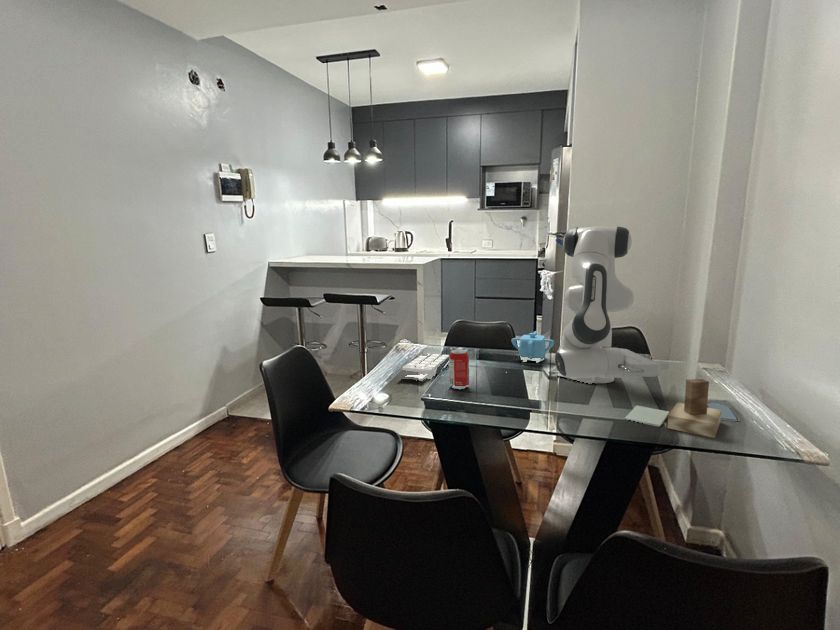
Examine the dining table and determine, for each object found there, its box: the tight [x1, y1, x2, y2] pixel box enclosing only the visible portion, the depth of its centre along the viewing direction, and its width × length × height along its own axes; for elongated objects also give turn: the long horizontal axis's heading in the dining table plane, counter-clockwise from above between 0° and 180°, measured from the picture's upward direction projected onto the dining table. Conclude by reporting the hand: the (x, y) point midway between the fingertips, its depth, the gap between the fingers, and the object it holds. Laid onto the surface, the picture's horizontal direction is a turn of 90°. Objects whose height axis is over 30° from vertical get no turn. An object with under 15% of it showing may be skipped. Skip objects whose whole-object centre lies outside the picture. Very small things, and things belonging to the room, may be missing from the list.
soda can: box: [448, 348, 470, 386], centre depth 178 cm, size 8×8×15 cm
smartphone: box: [707, 402, 740, 422], centre depth 147 cm, size 7×1×15 cm
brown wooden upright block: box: [684, 378, 710, 415], centre depth 136 cm, size 5×3×10 cm, turn 91°
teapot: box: [511, 330, 555, 359], centre depth 219 cm, size 18×16×14 cm
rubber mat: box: [624, 405, 670, 428], centre depth 145 cm, size 10×14×1 cm
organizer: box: [401, 353, 450, 380], centre depth 202 cm, size 13×5×35 cm
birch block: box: [666, 401, 722, 439], centre depth 137 cm, size 12×14×4 cm
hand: (658, 361), depth 134 cm, fingers open, 8 cm apart
